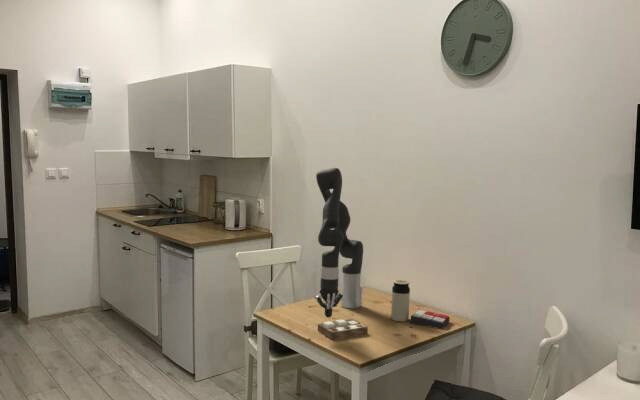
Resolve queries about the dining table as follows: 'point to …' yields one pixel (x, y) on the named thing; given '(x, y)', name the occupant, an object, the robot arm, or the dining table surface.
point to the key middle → (340, 323)
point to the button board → (343, 330)
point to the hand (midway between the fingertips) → (328, 316)
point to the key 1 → (328, 325)
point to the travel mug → (400, 300)
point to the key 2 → (352, 322)
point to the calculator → (430, 319)
